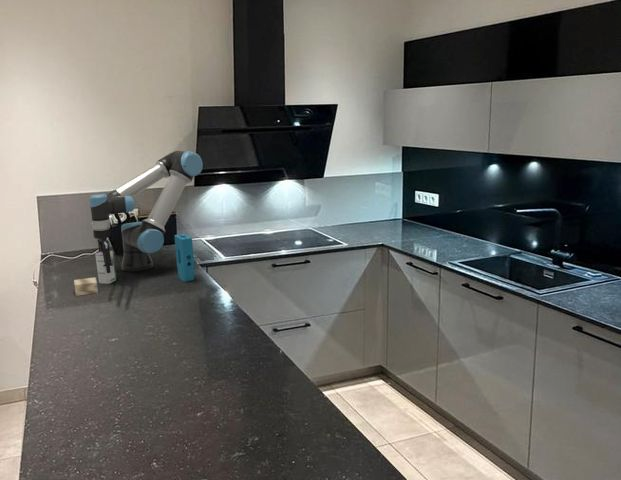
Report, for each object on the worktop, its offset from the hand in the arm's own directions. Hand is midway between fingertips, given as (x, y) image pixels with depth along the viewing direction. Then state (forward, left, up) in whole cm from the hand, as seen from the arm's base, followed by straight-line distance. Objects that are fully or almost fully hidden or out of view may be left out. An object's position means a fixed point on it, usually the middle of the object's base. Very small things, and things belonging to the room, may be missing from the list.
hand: (107, 277), depth 267 cm
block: (-32, +17, -2) cm, 36 cm away
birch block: (+11, +10, -2) cm, 15 cm away
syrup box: (0, 0, -2) cm, 2 cm away
